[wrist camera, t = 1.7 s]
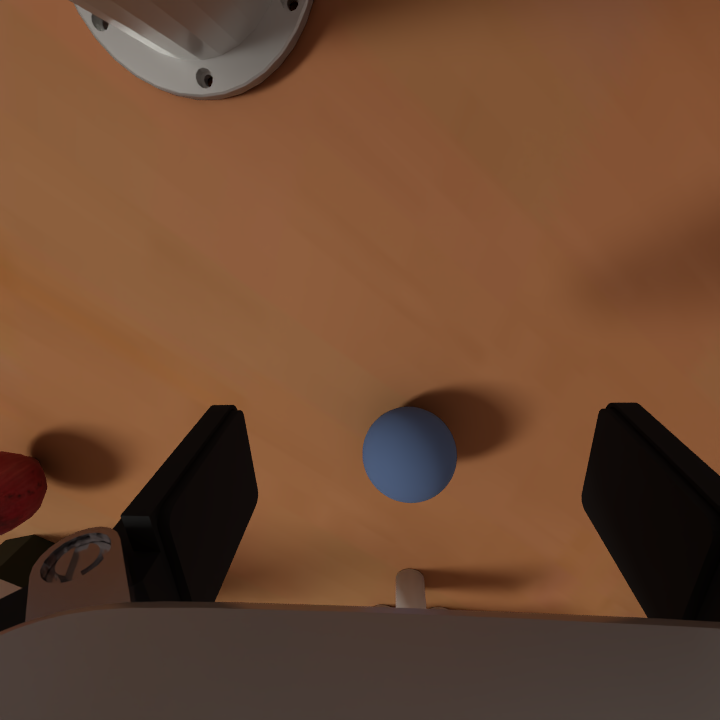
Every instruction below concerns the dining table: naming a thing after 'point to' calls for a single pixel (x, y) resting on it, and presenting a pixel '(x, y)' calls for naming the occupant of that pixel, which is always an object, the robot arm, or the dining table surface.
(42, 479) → the onion
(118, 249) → the dining table surface
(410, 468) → the ball
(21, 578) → the wine bottle
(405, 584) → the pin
